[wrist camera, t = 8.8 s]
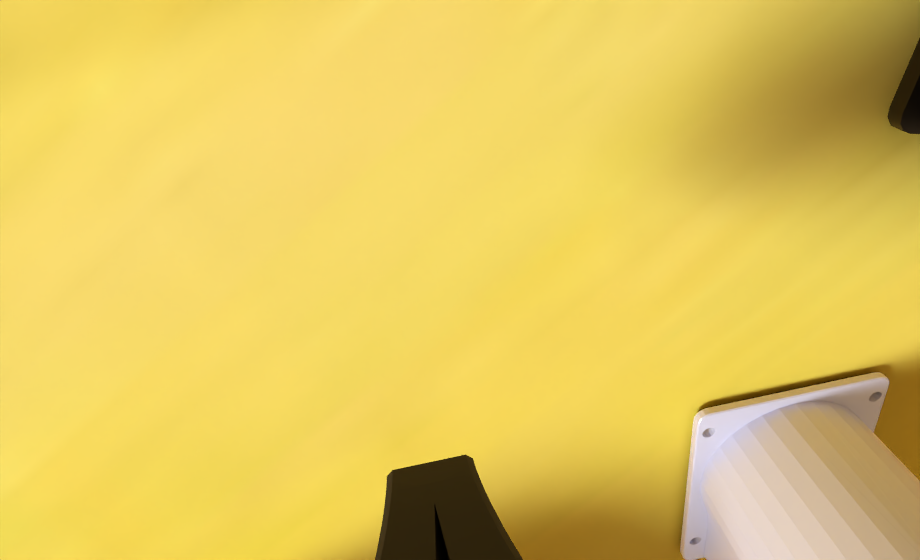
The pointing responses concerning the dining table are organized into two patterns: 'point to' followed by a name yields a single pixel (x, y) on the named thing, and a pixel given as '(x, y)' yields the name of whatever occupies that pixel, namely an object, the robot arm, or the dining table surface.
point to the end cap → (908, 98)
